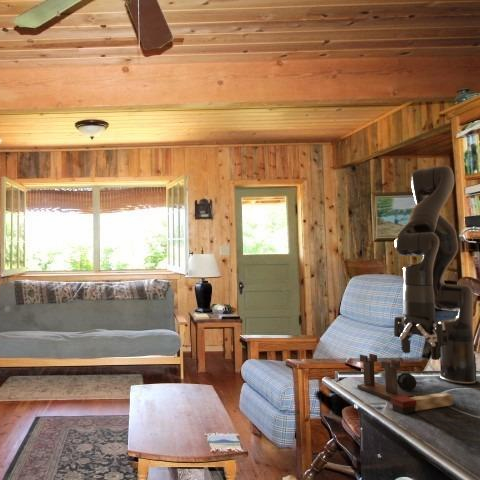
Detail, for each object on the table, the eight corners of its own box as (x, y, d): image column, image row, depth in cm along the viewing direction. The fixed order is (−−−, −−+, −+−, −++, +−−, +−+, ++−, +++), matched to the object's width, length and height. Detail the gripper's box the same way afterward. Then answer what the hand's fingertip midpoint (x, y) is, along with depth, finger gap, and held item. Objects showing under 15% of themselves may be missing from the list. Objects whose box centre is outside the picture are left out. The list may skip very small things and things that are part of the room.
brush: (442, 401, 122) (442, 390, 122) (455, 405, 118) (455, 394, 119) (391, 409, 116) (390, 397, 116) (403, 414, 113) (402, 401, 113)
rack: (356, 388, 135) (355, 355, 135) (375, 385, 137) (374, 353, 137) (393, 402, 122) (392, 365, 122) (414, 399, 124) (412, 363, 125)
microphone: (377, 383, 149) (406, 394, 129) (370, 367, 150) (398, 376, 130) (392, 378, 148) (423, 389, 129) (385, 363, 149) (415, 371, 130)
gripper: (453, 302, 114) (455, 361, 113) (405, 297, 127) (407, 349, 127) (433, 303, 111) (435, 363, 111) (386, 298, 125) (388, 351, 125)
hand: (420, 355), depth 119 cm, fingers open, 8 cm apart
